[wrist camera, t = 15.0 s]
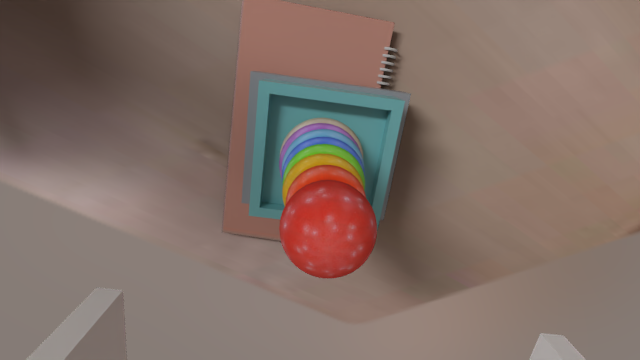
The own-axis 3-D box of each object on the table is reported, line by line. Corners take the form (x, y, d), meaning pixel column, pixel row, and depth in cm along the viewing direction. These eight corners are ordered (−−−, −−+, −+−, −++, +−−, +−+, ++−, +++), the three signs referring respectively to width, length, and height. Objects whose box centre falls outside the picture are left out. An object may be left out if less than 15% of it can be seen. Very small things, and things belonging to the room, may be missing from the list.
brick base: (246, 193, 40) (233, 218, 34) (255, 70, 36) (242, 71, 29) (378, 209, 41) (391, 237, 35) (403, 91, 37) (422, 97, 30)
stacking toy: (370, 181, 34) (430, 306, 16) (295, 203, 35) (275, 347, 17) (349, 105, 32) (391, 155, 14) (269, 131, 32) (212, 210, 15)
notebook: (351, 244, 45) (352, 252, 44) (225, 226, 44) (221, 233, 42) (400, 26, 37) (405, 24, 35) (246, -4, 36) (242, -8, 34)
